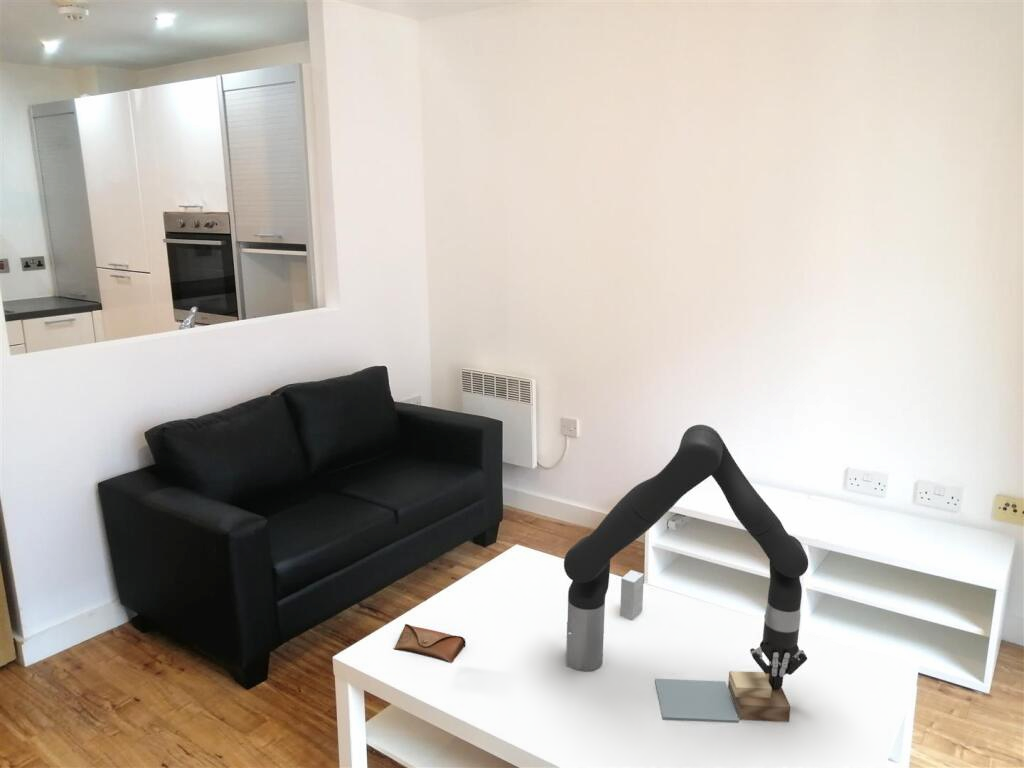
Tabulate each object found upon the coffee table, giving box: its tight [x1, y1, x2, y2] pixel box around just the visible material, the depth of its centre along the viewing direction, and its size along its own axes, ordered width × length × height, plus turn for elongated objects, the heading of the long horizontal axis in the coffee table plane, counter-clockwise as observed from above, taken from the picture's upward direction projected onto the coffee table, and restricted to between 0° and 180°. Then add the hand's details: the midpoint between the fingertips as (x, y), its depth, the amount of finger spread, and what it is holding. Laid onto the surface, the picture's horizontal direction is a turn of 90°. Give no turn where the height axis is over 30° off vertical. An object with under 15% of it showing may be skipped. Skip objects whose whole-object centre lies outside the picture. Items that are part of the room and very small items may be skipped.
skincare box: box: [619, 569, 645, 621], centre depth 212 cm, size 6×4×12 cm
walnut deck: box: [727, 671, 792, 723], centre depth 175 cm, size 11×12×4 cm
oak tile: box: [728, 670, 772, 698], centre depth 174 cm, size 8×6×2 cm
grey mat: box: [654, 678, 740, 724], centre depth 177 cm, size 17×14×1 cm
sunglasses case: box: [392, 623, 467, 664], centre depth 197 cm, size 18×7×7 cm
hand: (774, 687), depth 175 cm, fingers closed
